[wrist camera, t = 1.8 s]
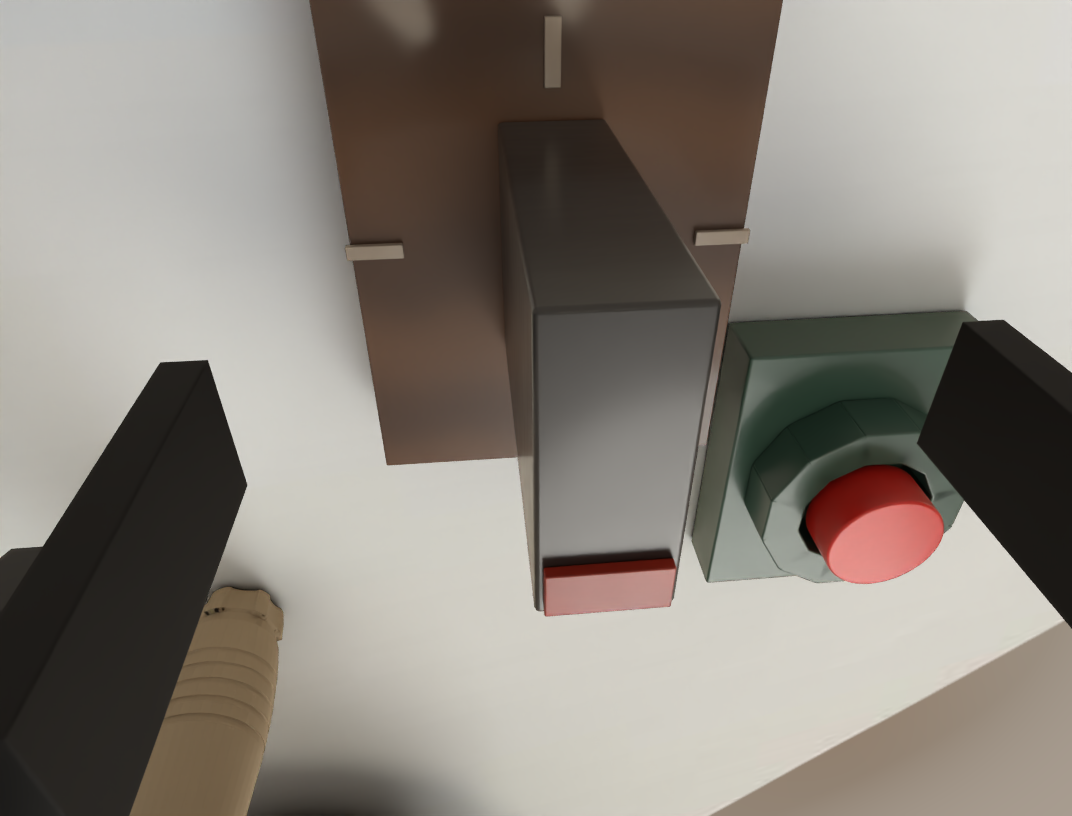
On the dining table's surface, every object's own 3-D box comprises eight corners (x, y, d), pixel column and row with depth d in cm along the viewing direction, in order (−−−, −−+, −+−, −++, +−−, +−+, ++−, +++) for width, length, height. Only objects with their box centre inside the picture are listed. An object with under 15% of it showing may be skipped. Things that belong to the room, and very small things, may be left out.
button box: (728, 321, 23) (772, 392, 20) (966, 309, 24) (1048, 376, 20) (690, 540, 29) (720, 623, 26) (882, 526, 30) (935, 605, 26)
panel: (309, -95, 16) (286, -91, 14) (762, -99, 17) (808, -97, 14) (389, 417, 24) (382, 469, 22) (689, 399, 25) (711, 448, 23)
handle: (133, 592, 28) (-113, 1139, 16) (287, 548, 27) (155, 1082, 15) (203, 661, 31) (40, 1171, 18) (344, 623, 30) (271, 1123, 18)
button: (818, 466, 22) (843, 506, 21) (930, 459, 22) (962, 497, 21) (794, 548, 24) (815, 589, 23) (897, 540, 25) (923, 580, 23)
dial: (497, 121, 16) (532, 319, 9) (606, 117, 17) (730, 309, 9) (505, 348, 20) (536, 625, 12) (595, 343, 20) (678, 614, 13)
